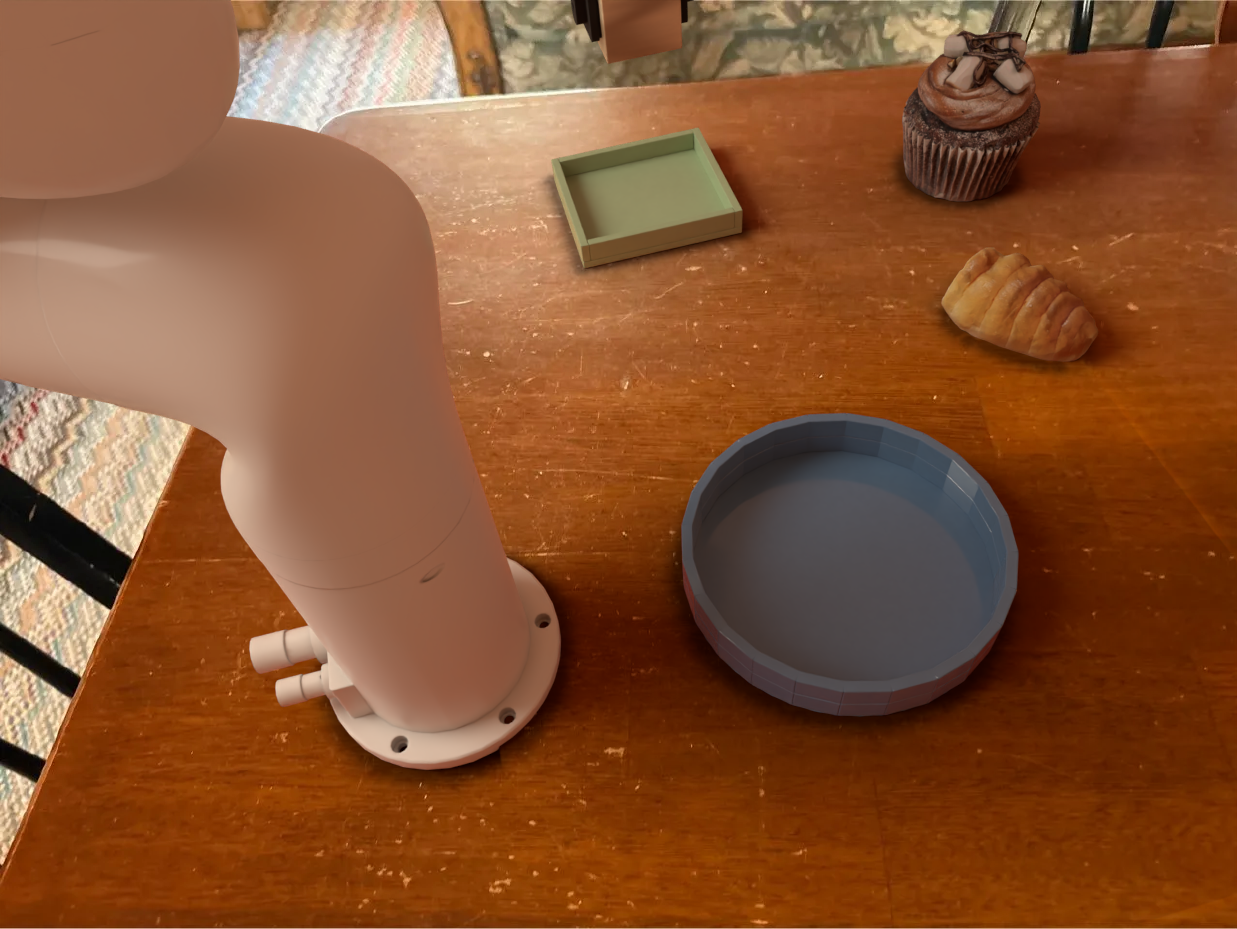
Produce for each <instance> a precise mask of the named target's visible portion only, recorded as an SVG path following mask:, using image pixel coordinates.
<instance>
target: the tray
mask: <svg viewBox="0 0 1237 929" xmlns="http://www.w3.org/2000/svg"><path fill="white" fill-rule="evenodd" d="M550 161H551V162H550V163H551V168H552V174H553V180H554V184H555V186H556V190H557V192H558V193H557V194H558V196H559V199H560V201H561V205H562V207H563V211H564V214H565V216H566V219H567V222H568V225H569V229H570V231H571V234H572V238H573V240H574V244H575V246H576V249H577V252H578V256H579V259H580V261H581V263H582V267H583V269H588V268H589V269H590V268H592V267H596V266H603V265H606V264H611V263H616V262H619V261H624V260H628V259H632V258H637V257H641V256H646V255H650V254H654V253H659V252H663V251H667V250H671V249H676V248H681V247H685V246H689V245H693V244H698V243H703V242H706V241H713V240H716V239H720V238H724V237H728V236H734V235H737V234H742V233H743V212H744V211H743V209H742V206H741V204H740V202H739V200H738V199H737V197H736V195H735V193H734V192H733V189H732V188H731V185H730V183H729V182H728V180H727V178H726V177H725V174H724V172H723V170H722V169H721V167H720V165H719V163H718V161H717V159H716V157H715V156H714V153H713V151H712V150H711V148H710V146H709V144H708V142H707V140H706V138H705V137H704V135H703V133H702V131H701V128H700V127H699V126H698V127H693V128H689V129H685V130H680V131H676V132H671V133H667V134H661V135H658V136H653V137H648V138H644V139H639V140H635V141H630V142H625V143H621V144H616V145H612V146H607V147H602V148H598V149H597V148H596V149H594V150H589V151H584V152H579V153H573V154H570V155H566V156H561V157H556V158H551V159H550Z"/></svg>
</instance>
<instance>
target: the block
mask: <svg viewBox="0 0 1237 929" xmlns="http://www.w3.org/2000/svg"><path fill="white" fill-rule="evenodd" d="M598 5H599V15H600V24H601V34H602V38H600V41H597V43H598V46H599V48H600V50H601V52H602V55H603V57H604V59H605V61H606V63H607V64H608V65H609V64H614V63H621V62H624V61H629V60H634V59H638V58H642V57H647V56H652V55H657V54H662V53H666V52H672V51H676V50H681V49H683V29H682V23H681V0H598Z"/></svg>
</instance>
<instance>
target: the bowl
mask: <svg viewBox="0 0 1237 929" xmlns="http://www.w3.org/2000/svg"><path fill="white" fill-rule="evenodd" d="M680 527H681V528H680V530H681V563H682V581H683V582H682V584H683V590H684V592H685V596H686V598H687V602H688V605H689V607H690V611H691V614H692V617H693V620H694V622H695V624H696V626H697V627H698V629H699V631H701V633H702V635H703V636H704V638H705V640H706V641H707V643H708V644H709V645H710V647H712V650H713V651H714V652H715V654H716V655H717V656H718V657H719V658H720V659H721V660H722V661H723V662H724V663H725V664H726V665H728V667H730V668H731V669H732V670H733V671H734V672H735V673H736V674H738V675H739V676H741V677H742V678H743V679H744V680H745V681H746V682H748V683H749V684H750V685H751V686H753V687H755V688H756V689H759V690H761V691H763V692H765V693H766V694H768V695H769V696H772V697H774V698H776V699H779V700H781V701H782V702H784V703H787V704H789V705H790V706H791V705H792V706H793V707H794V706H795V707H798V708H803V709H806V710H809V711H813V712H817V713H823V714H829V715H833V716H839V717H847V716H848V717H870V716H871V717H872V716H888V715H891V714H894V713H899V712H902V711H903V712H904V711H907V710H910V709H913V708H917V707H920V706H924V705H927V704H929V703H931V702H933V701H934V700H936V699H938V698H939V697H941V696H942V695H944V694H946V693H948V692H949V691H951V690H952V689H954V688H956V687H958V685H960V684H962V683H963V682H965V681H966V679H968V677H969V676H970V675H971V674H972V672H974V670H975V669H976V668H977V667H978V666H979V664H981V662H982V661H983V660H984V659H985V658H986V656H987V655H989V653H990V651H991V650H992V647H993V646H994V644H995V642H996V639H998V636H999V634H1000V632H1001V630H1002V628H1003V626H1004V624H1005V621H1006V618H1007V616H1008V614H1009V612H1010V609H1011V607H1012V604H1013V602H1014V599H1015V596H1016V594H1017V590H1018V581H1019V580H1018V575H1019V557H1020V556H1019V554H1020V553H1019V548H1018V545H1017V542H1016V538H1015V534H1014V531H1013V527H1012V523H1011V519H1010V517H1009V513H1007V511H1006V509H1005V507H1004V505H1003V504H1002V503H1001V501H1000V499H999V498H998V496H997V494H996V493H995V491H994V490H993V488H992V486H991V484H990V483H989V482H988V481H987V480H986V479H985V478H984V477H983V476H982V475H981V474H980V473H979V472H978V471H977V470H976V469H975V468H974V467H973V466H972V465H971V464H970V463H969V462H968V461H967V460H966V459H965V458H964V457H963V456H961V454H959V453H958V452H956V451H954V450H953V449H951V448H950V447H948V446H946V445H945V444H943V443H941V442H940V441H938V440H937V439H935V438H933V437H932V436H930V435H929V434H927V433H925V432H923V431H920V430H918V429H914V428H912V427H909V426H907V425H904V424H901V423H899V422H895V421H893V420H890V419H887V418H881V417H874V416H868V415H863V414H856V413H849V412H836V413H835V412H834V413H813V414H812V413H810V414H809V413H808V414H803V415H799V416H794V417H791V418H787V419H783V420H777V421H774V422H771V423H768V424H766V425H764V426H762V427H760V428H758V429H756V430H754V431H752V432H750V433H747V434H746V435H744V436H742V437H740V438H738V439H737V440H735V441H734V442H733V443H732V444H731V445H730V446H728V447H727V448H726V449H725V450H724V451H723V452H721V453H720V454H719V455H718V456H716V458H715V459H713V460H712V461H711V462H710V463H709V464H708V466H707V468H706V469H705V471H704V472H703V473H702V475H701V476H700V478H699V480H698V481H697V483H696V484H695V486H694V487H693V488H692V490H691V492H690V495H689V498H688V501H687V505H686V508H685V511H684V514H683V519H682V521H681V526H680Z"/></svg>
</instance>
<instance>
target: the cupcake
mask: <svg viewBox="0 0 1237 929" xmlns="http://www.w3.org/2000/svg"><path fill="white" fill-rule="evenodd" d="M1022 37H1023V33H1021V32H1019V31H1018V32H1017V31H990V32H989V31H988V32H986V33H983V34H977V33H973V32H972V31H968V30H961V31H960V32H958V33H957V34H955V33H954V34H949V35H948V36H947V37H946V38H945V40H944V45H943V53H941V54H940V55H939V56H938V57H937V58H935V60H933V61H932V63H930V65H928V66H927V67H926V68H925V69H924V70H923V73H922V74H921V75H920V77H919V78H918V82H917V87H916V88H915V89H914V90H913V91H912V92H911V94H910V95H909V96H908V98H907V100H906V101H905V106H904V107H903V112H902V116H901V117H902V118H901V119H902V120H901V122H902V124H901V125H902V154H903V164H904V171H905V175H906V178H907V180H908V181H909V182H910V183H911V184H912V186H914V187H915V189H917V190H919V191H921V192H922V193H924V194H925V195H928V196H931V197H933V198H936V199H942V200H946V201H949V202H972V201H975V200H982V199H988V198H990V197H992V196H994V195H996V194H997V193H999V192H1002V190H1003V188H1004V187H1005V186H1006V185H1008V184H1009V181H1010V179H1011V176H1012V174H1013V171H1014V170H1015V167H1016V166H1017V164H1018V162H1019V160H1020V159H1021V156H1022V154H1023V153H1024V151H1025V150H1026V148H1027V147H1028V146H1029V143H1030V142H1031V141H1032V139H1033V137H1034V136H1035V134H1036V133H1037V131H1038V129H1039V128H1040V127H1039V126H1040V125H1041V122H1040V117H1041V109H1042V106H1041V105H1042V104H1041V101H1040V99H1039V97H1038V95H1037V93H1036V87H1037V86H1036V85H1037V84H1036V79H1035V75H1034V72H1033V70H1032V68H1031V66H1030V65H1029V64H1028V63H1027V61H1026V60H1025V58H1024V57H1025V54H1026V52H1027V50H1028V48H1027V42H1026V41H1025V40H1023V39H1022Z"/></svg>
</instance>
